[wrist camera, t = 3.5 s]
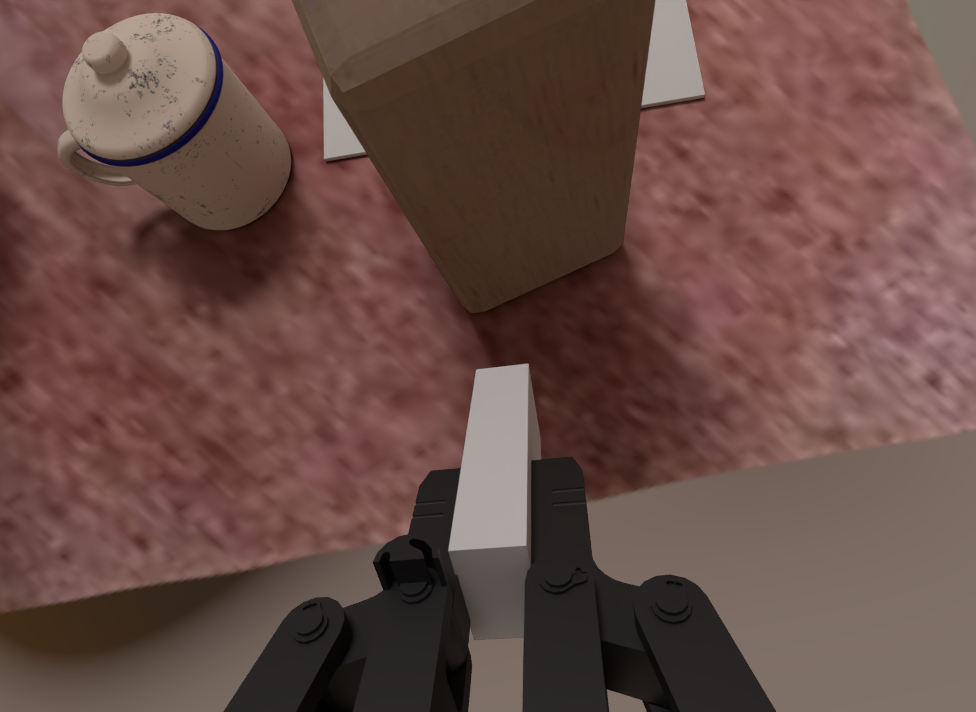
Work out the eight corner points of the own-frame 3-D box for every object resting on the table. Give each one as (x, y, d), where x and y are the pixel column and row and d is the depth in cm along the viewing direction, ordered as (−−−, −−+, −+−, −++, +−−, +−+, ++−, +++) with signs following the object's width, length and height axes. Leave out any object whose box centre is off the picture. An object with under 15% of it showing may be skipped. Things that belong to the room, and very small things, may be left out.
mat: (325, 161, 39) (323, 158, 39) (324, -76, 44) (322, -80, 44) (703, 97, 36) (704, 94, 35) (654, -150, 41) (654, -155, 41)
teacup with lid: (286, 97, 41) (172, -56, 30) (307, 212, 38) (192, 91, 27) (128, 151, 42) (-38, 23, 31) (139, 266, 39) (-38, 171, 28)
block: (628, 252, 34) (681, -70, 15) (470, 324, 35) (327, 100, 16) (556, 119, 37) (523, -294, 18) (411, 187, 38) (228, -144, 18)
